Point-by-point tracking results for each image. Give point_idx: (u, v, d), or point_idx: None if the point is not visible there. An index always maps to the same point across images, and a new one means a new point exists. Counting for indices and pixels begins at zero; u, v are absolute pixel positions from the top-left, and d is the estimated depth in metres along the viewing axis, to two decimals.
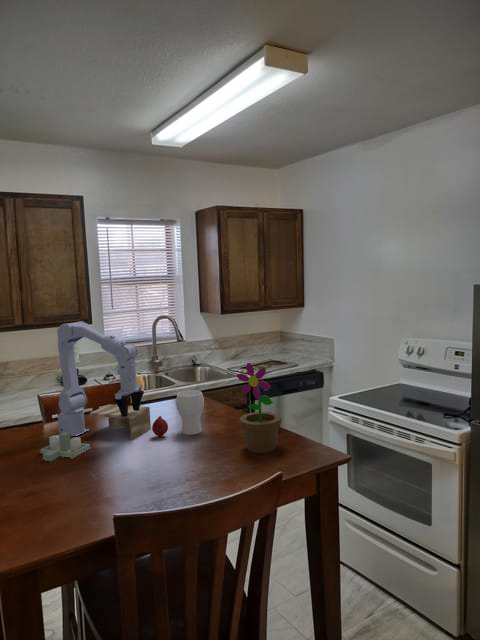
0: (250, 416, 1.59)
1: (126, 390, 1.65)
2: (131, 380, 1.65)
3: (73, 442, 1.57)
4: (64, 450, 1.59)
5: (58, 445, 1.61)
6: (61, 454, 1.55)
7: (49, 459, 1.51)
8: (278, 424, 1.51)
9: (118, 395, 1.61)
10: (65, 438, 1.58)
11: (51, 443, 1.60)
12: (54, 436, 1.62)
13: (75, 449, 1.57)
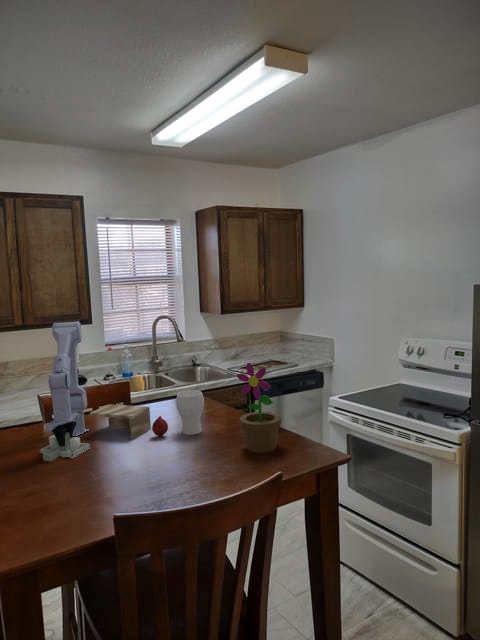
0: (250, 416, 1.59)
1: (59, 421, 1.56)
2: (64, 410, 1.56)
3: (72, 443, 1.57)
4: (64, 450, 1.59)
5: (58, 445, 1.61)
6: (61, 454, 1.55)
7: (49, 459, 1.51)
8: (278, 424, 1.51)
9: (48, 427, 1.52)
10: (65, 438, 1.58)
11: (52, 443, 1.60)
12: (54, 436, 1.61)
13: (74, 449, 1.57)
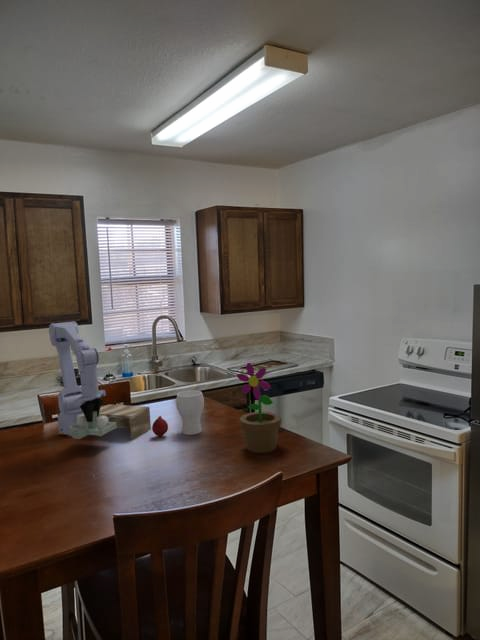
0: (250, 416, 1.59)
1: (87, 396, 1.60)
2: (92, 386, 1.60)
3: (100, 421, 1.60)
4: (92, 428, 1.62)
5: (86, 423, 1.65)
6: (89, 432, 1.59)
7: (78, 436, 1.55)
8: (278, 424, 1.51)
9: (77, 402, 1.56)
10: None
11: (80, 421, 1.63)
12: (81, 415, 1.65)
13: (101, 427, 1.60)
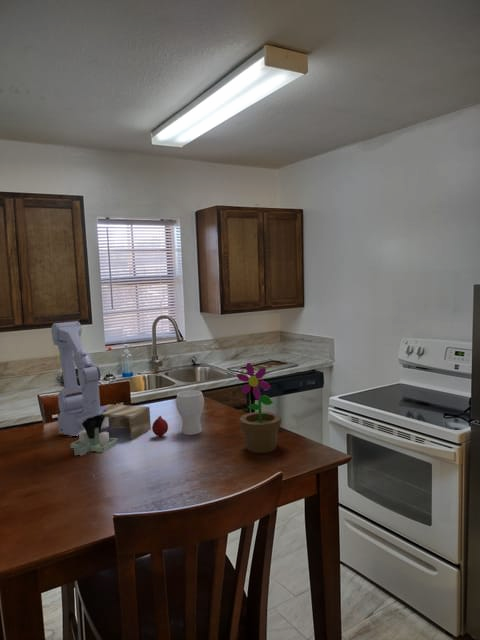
0: (250, 416, 1.59)
1: (89, 413, 1.60)
2: (93, 403, 1.60)
3: (102, 437, 1.61)
4: (94, 444, 1.63)
5: (88, 439, 1.65)
6: (91, 448, 1.59)
7: (80, 453, 1.55)
8: (278, 424, 1.51)
9: (79, 419, 1.56)
10: None
11: (82, 438, 1.64)
12: (83, 431, 1.66)
13: (103, 443, 1.61)
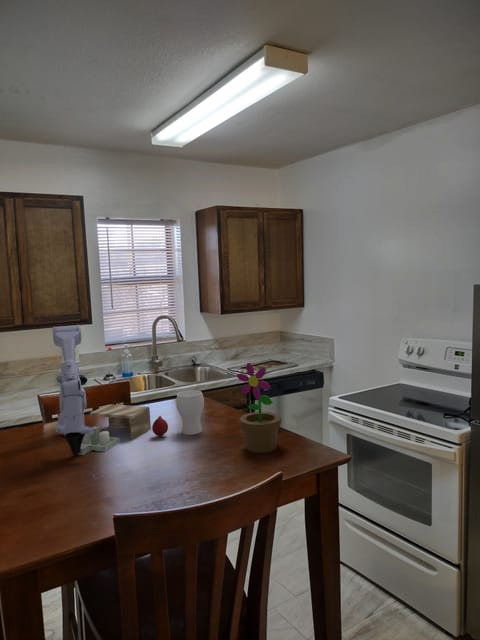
0: (250, 416, 1.59)
1: None
2: (64, 418, 1.52)
3: (102, 436, 1.61)
4: (95, 444, 1.63)
5: None
6: (92, 448, 1.60)
7: (82, 452, 1.56)
8: (278, 424, 1.51)
9: None
10: (96, 432, 1.63)
11: (85, 437, 1.64)
12: None
13: (103, 443, 1.62)
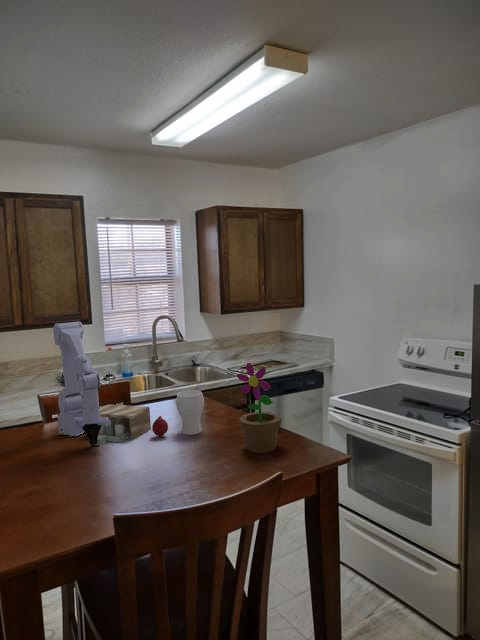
0: (250, 416, 1.59)
1: None
2: (82, 410, 1.61)
3: (117, 428, 1.70)
4: (110, 435, 1.72)
5: (105, 430, 1.75)
6: (108, 438, 1.68)
7: (99, 443, 1.65)
8: (278, 424, 1.51)
9: None
10: (111, 424, 1.72)
11: (100, 429, 1.73)
12: None
13: (119, 434, 1.70)
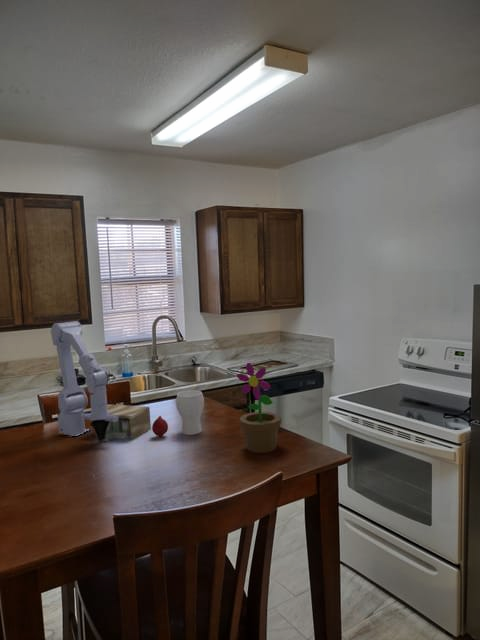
0: (250, 416, 1.59)
1: None
2: (91, 407, 1.65)
3: (124, 424, 1.74)
4: (117, 431, 1.76)
5: (112, 427, 1.79)
6: (116, 434, 1.73)
7: (106, 438, 1.69)
8: (278, 424, 1.51)
9: None
10: (118, 420, 1.76)
11: None
12: None
13: (126, 430, 1.74)
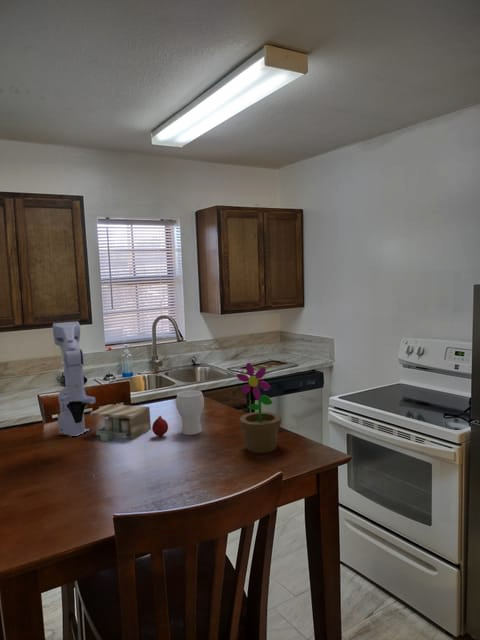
0: (250, 416, 1.59)
1: None
2: (67, 388, 1.58)
3: (124, 424, 1.74)
4: (117, 431, 1.76)
5: None
6: (116, 434, 1.73)
7: (106, 438, 1.69)
8: (278, 424, 1.51)
9: None
10: (118, 420, 1.76)
11: (108, 425, 1.77)
12: (108, 419, 1.79)
13: (125, 430, 1.74)
